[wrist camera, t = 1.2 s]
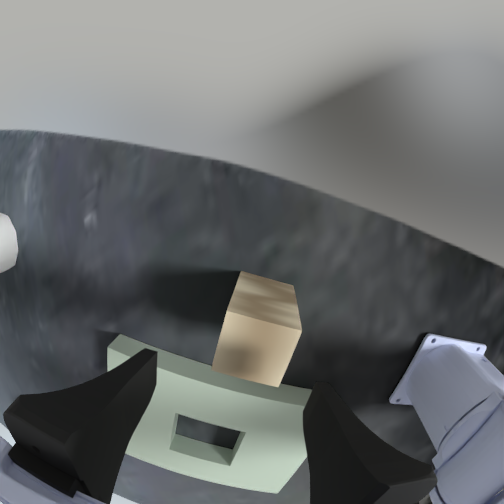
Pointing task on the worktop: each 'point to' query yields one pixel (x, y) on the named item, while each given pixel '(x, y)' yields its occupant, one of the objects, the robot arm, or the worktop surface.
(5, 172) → the worktop surface
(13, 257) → the fire extinguisher
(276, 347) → the beech block
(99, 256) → the worktop surface
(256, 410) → the well board
